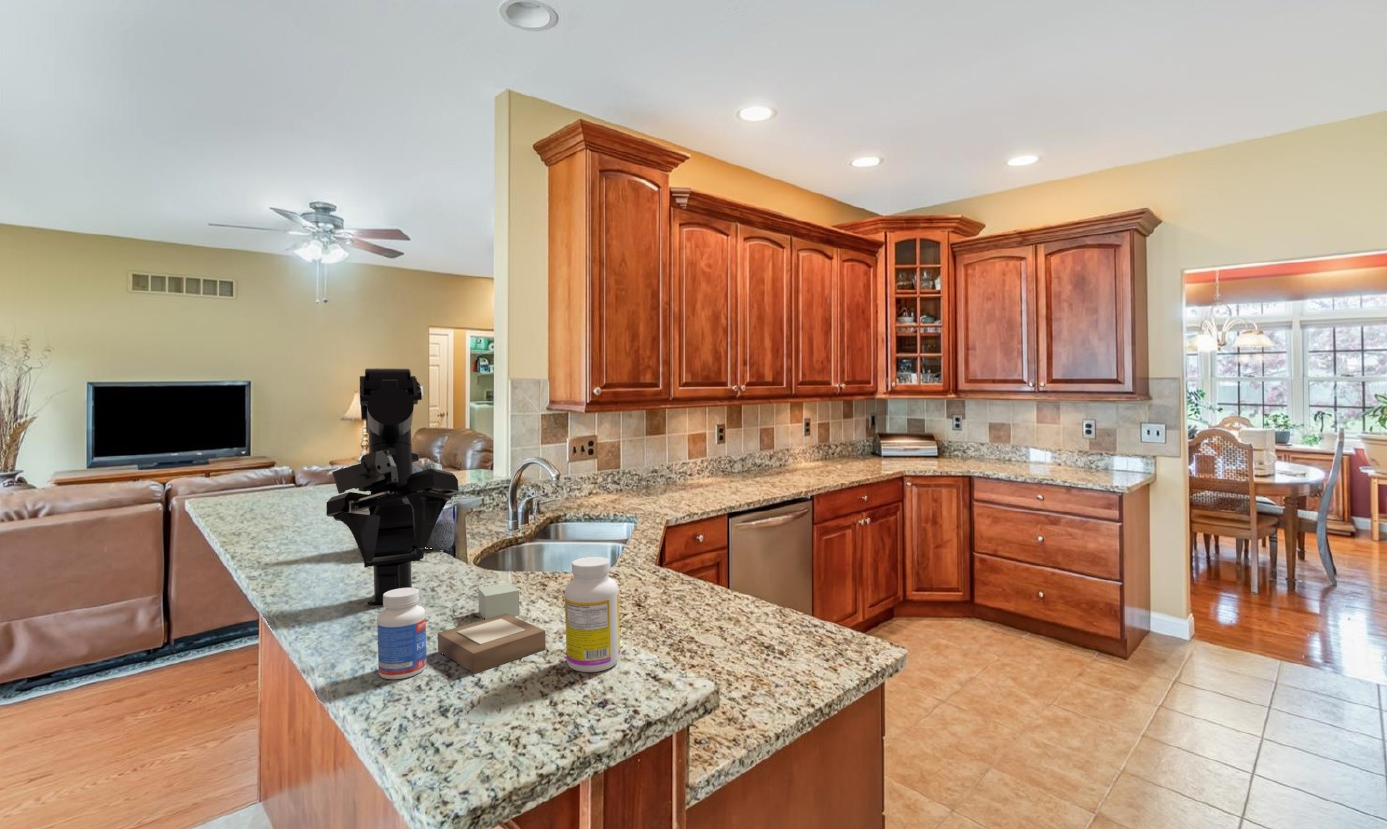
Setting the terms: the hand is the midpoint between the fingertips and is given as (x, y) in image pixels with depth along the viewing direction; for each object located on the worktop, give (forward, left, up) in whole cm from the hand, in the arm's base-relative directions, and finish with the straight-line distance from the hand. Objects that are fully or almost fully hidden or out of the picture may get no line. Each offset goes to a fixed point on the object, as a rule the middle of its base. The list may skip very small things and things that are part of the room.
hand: (394, 555), depth 88 cm
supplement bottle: (+15, +27, -12) cm, 33 cm away
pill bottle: (+12, +4, -12) cm, 17 cm away
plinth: (+8, +14, -12) cm, 19 cm away
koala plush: (-58, -12, -12) cm, 61 cm away
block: (-7, +13, -12) cm, 19 cm away
